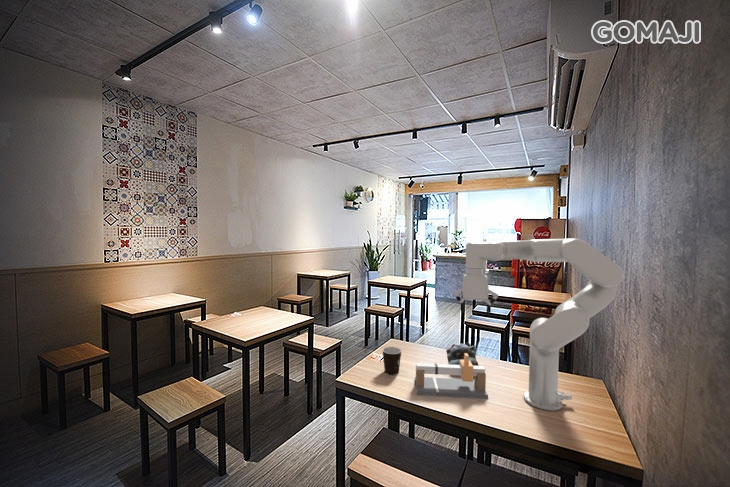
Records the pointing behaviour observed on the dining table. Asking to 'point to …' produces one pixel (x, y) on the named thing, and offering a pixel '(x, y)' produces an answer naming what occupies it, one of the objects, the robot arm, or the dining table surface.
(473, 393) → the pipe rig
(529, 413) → the dining table surface
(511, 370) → the dining table surface
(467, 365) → the orange stepped block
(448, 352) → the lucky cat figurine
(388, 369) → the coffee mug
